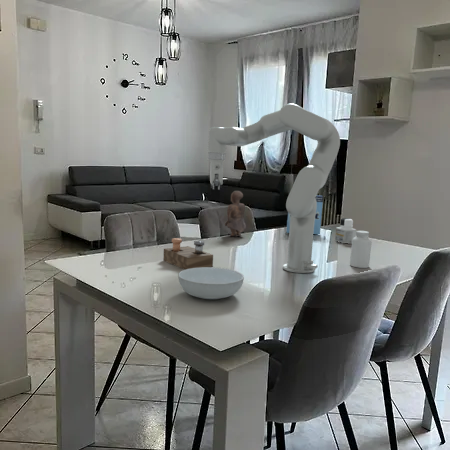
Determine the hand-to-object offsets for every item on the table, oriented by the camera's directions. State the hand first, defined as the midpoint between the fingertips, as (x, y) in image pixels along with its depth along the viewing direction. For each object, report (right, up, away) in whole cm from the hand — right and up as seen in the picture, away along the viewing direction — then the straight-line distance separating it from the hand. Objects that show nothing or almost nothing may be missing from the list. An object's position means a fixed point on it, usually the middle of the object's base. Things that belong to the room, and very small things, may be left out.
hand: (214, 198), depth 196 cm
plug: (-6, -23, -11) cm, 27 cm away
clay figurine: (+10, -18, +58) cm, 61 cm away
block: (-11, -27, -9) cm, 30 cm away
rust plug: (-15, -22, -9) cm, 28 cm away
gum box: (+51, -17, +78) cm, 94 cm away
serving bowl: (0, -34, -48) cm, 59 cm away
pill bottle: (+62, -29, +2) cm, 68 cm away
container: (+70, -21, +56) cm, 92 cm away
